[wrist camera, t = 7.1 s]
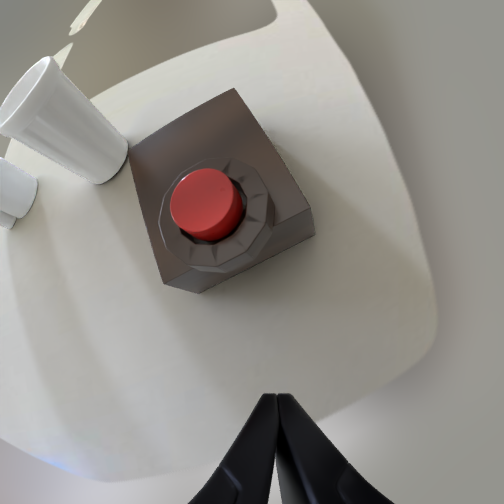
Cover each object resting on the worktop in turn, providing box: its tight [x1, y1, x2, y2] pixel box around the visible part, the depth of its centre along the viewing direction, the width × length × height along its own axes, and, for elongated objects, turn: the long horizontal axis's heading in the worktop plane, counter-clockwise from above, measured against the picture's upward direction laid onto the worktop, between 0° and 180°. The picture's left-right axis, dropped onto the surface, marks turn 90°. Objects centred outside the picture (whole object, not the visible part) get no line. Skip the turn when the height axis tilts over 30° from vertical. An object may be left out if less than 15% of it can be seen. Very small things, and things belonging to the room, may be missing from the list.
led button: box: [170, 168, 243, 241], centre depth 16 cm, size 4×4×2 cm
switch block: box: [127, 88, 315, 294], centre depth 21 cm, size 13×10×7 cm
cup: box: [0, 56, 128, 184], centre depth 23 cm, size 8×8×14 cm
